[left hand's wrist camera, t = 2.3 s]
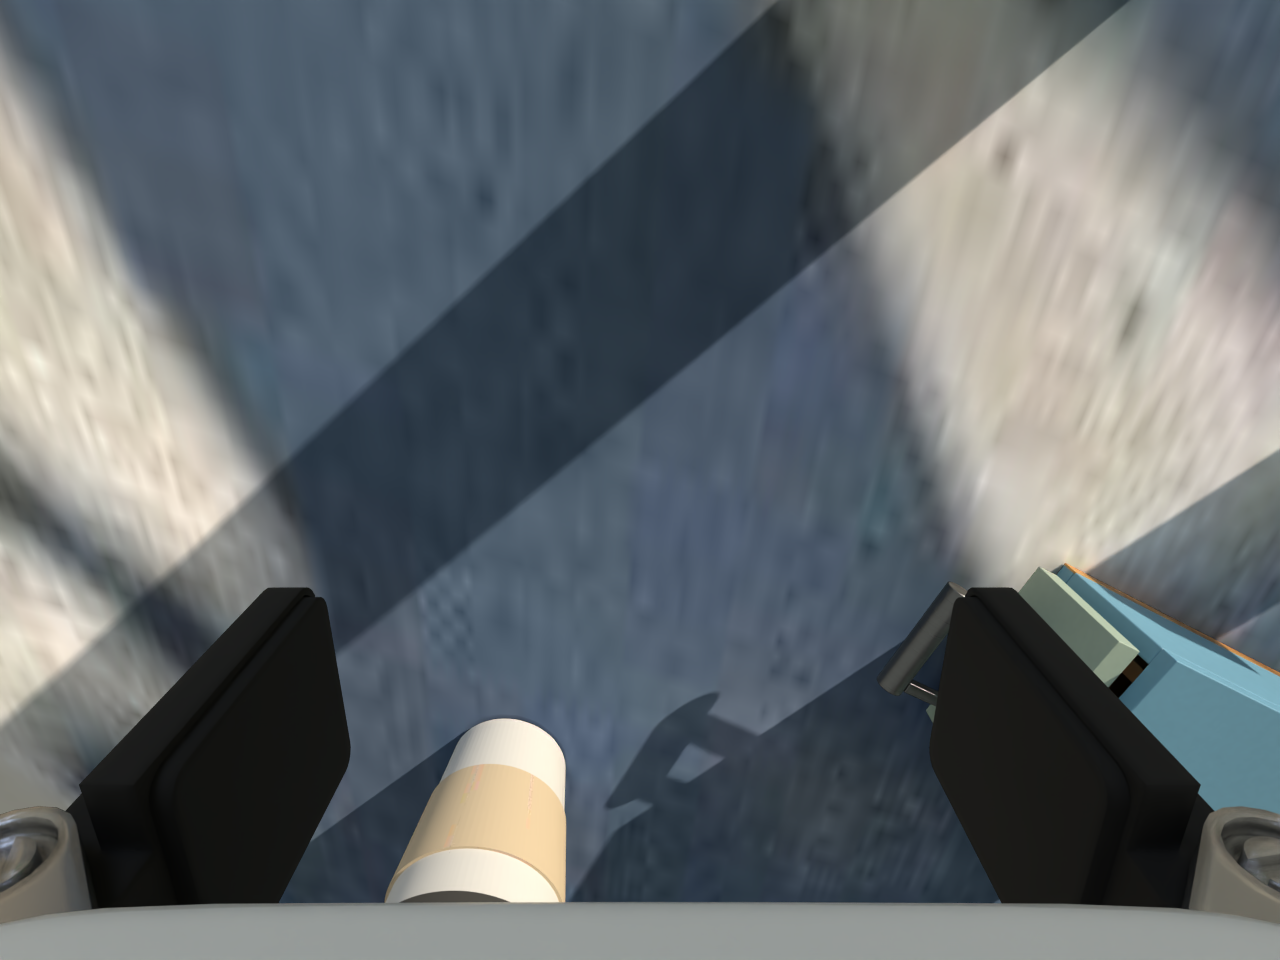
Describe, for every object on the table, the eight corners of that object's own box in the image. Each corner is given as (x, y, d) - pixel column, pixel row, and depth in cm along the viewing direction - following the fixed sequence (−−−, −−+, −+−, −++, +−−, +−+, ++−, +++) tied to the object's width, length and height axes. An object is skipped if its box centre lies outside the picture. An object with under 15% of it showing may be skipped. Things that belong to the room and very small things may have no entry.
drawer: (837, 670, 42) (874, 760, 35) (946, 519, 38) (1009, 586, 32) (1130, 803, 45) (1214, 908, 38) (1253, 675, 42) (1368, 765, 35)
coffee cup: (471, 838, 47) (399, 1112, 33) (408, 728, 44) (298, 978, 30) (606, 801, 46) (590, 1067, 32) (550, 684, 43) (506, 922, 29)
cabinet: (940, 719, 44) (1010, 844, 36) (1065, 562, 40) (1177, 660, 32) (1154, 816, 47) (1267, 954, 38) (1290, 678, 43) (1449, 796, 34)
